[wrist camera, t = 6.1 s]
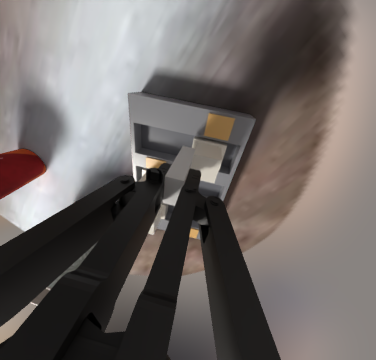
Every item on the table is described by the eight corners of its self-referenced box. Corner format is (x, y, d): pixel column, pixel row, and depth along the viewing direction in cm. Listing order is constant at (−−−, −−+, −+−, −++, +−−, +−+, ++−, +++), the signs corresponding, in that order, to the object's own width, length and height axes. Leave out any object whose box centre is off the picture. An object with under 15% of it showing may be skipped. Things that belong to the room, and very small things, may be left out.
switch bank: (140, 91, 19) (126, 93, 16) (250, 114, 18) (256, 119, 15) (143, 211, 31) (135, 223, 28) (207, 227, 30) (206, 242, 27)
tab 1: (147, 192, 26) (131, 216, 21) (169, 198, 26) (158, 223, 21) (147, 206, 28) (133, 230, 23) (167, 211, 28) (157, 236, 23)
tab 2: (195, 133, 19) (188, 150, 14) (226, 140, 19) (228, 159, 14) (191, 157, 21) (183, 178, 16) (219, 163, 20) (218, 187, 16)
